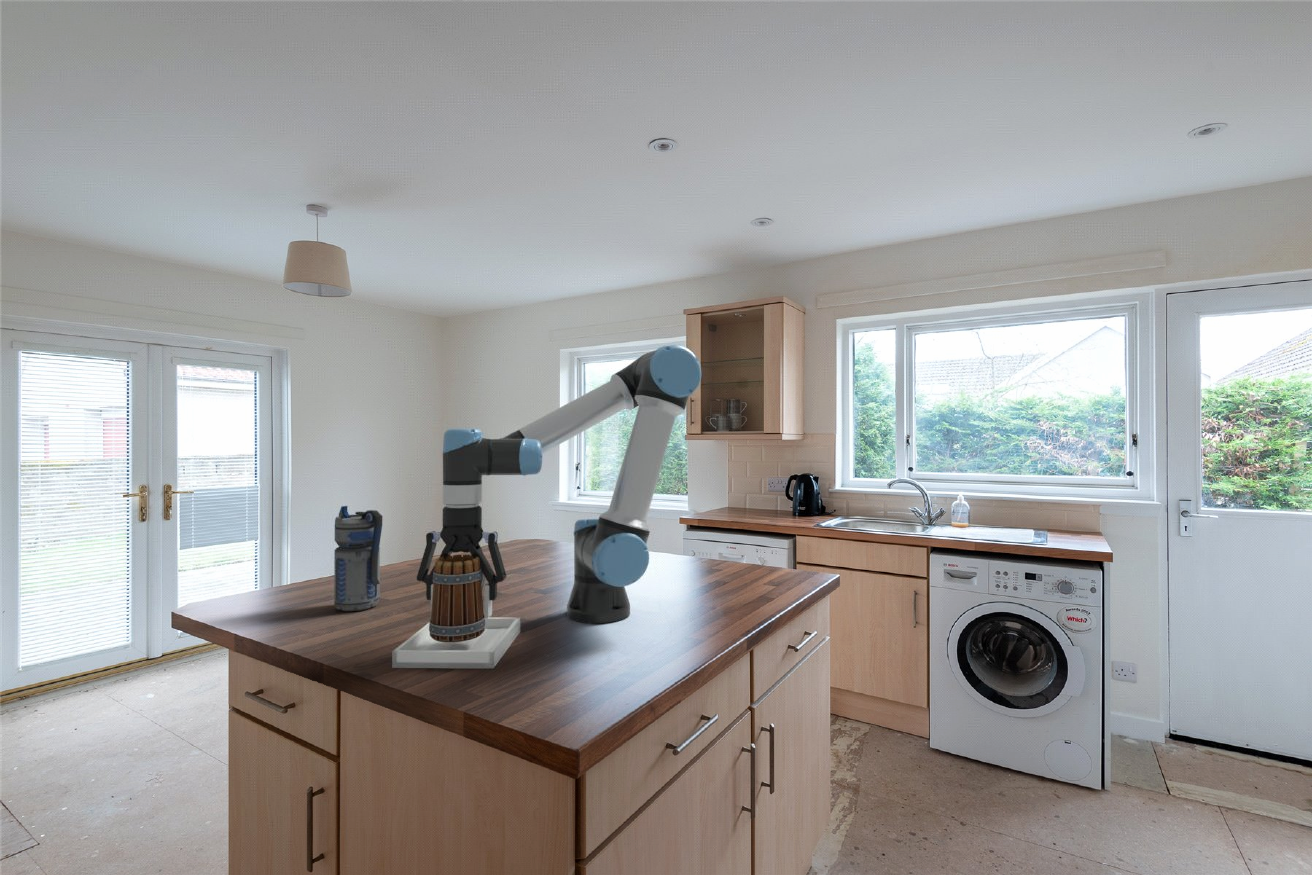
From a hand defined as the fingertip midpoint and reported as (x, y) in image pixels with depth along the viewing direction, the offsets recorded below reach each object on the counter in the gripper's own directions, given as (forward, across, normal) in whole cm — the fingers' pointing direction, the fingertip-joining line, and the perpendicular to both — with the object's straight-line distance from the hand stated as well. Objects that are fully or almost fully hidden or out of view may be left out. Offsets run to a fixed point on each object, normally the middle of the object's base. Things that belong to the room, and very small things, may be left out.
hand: (461, 616), depth 123 cm
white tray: (+6, 0, 0) cm, 6 cm away
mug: (+3, 0, 0) cm, 3 cm away
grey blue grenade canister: (+7, +35, -29) cm, 46 cm away
